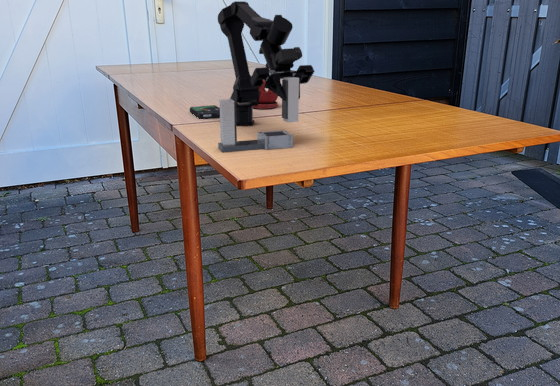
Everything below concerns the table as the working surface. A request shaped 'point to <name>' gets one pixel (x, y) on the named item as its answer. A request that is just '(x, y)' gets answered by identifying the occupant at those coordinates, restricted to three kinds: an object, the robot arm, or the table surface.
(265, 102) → the plant pot
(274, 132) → the grey l-shaped stand
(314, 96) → the table surface
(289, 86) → the tall grey pillar
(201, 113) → the disk drive
